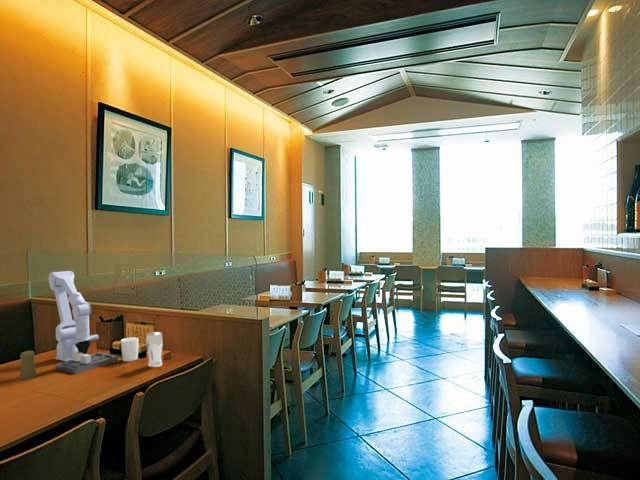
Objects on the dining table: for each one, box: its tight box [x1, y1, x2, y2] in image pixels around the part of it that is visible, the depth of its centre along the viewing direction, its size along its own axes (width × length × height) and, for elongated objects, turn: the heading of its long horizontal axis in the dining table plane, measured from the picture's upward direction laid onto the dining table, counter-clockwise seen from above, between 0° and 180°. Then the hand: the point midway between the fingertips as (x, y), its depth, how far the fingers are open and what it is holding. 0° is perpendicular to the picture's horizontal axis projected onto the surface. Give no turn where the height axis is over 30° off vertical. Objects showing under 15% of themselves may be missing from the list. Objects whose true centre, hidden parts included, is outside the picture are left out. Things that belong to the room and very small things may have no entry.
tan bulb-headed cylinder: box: [19, 350, 37, 380], centre depth 176 cm, size 6×6×11 cm
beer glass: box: [146, 331, 164, 368], centre depth 187 cm, size 7×7×15 cm
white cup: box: [120, 336, 139, 362], centre depth 197 cm, size 8×8×10 cm
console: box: [54, 351, 119, 375], centre depth 190 cm, size 15×21×3 cm
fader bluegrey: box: [80, 353, 91, 364], centre depth 186 cm, size 4×2×4 cm, turn 62°
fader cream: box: [73, 351, 83, 362], centre depth 190 cm, size 4×2×4 cm, turn 62°
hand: (83, 357), depth 192 cm, fingers closed
